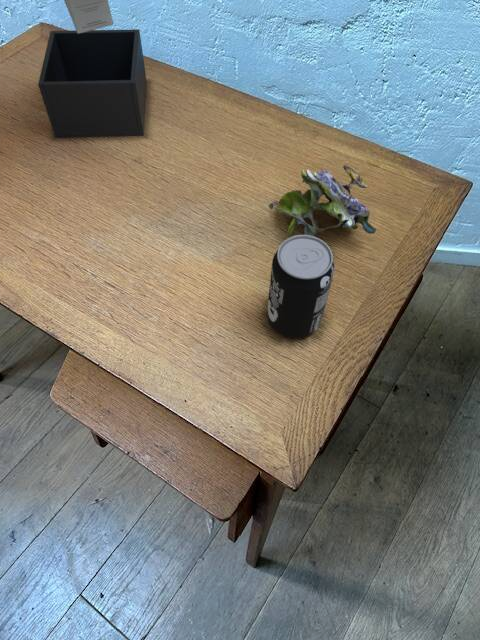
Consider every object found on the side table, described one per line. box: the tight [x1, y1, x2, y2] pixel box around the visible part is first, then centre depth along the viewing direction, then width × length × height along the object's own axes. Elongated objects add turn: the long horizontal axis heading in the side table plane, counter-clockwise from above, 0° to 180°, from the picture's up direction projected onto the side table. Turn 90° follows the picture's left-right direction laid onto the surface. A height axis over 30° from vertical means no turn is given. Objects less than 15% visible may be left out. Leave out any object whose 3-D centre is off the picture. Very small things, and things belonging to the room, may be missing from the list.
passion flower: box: [268, 164, 377, 239], centre depth 71 cm, size 11×11×12 cm
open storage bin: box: [37, 28, 148, 139], centre depth 84 cm, size 13×13×9 cm
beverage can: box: [266, 234, 335, 340], centre depth 62 cm, size 7×7×12 cm
